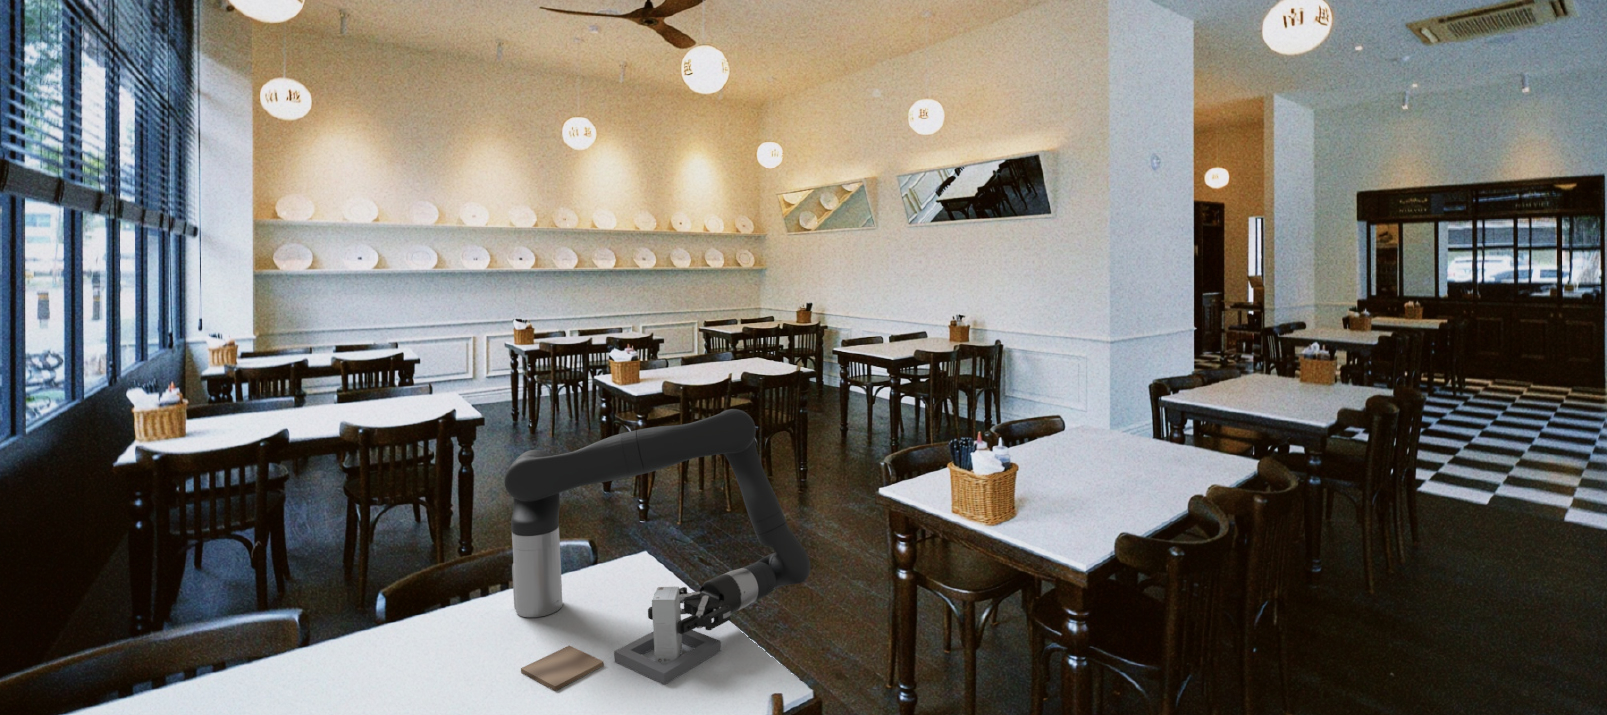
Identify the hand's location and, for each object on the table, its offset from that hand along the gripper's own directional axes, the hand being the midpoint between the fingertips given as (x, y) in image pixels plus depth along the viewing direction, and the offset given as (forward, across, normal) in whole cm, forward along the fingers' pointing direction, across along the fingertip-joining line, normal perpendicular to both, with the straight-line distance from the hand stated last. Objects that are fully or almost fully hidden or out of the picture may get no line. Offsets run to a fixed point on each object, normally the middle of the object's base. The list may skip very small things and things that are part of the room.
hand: (663, 621), depth 134 cm
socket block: (-1, 0, +7) cm, 7 cm away
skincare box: (-1, 0, +7) cm, 7 cm away
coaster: (+14, -11, +7) cm, 19 cm away
